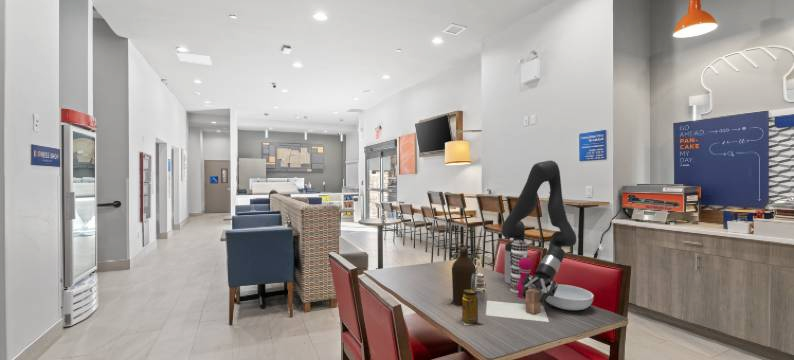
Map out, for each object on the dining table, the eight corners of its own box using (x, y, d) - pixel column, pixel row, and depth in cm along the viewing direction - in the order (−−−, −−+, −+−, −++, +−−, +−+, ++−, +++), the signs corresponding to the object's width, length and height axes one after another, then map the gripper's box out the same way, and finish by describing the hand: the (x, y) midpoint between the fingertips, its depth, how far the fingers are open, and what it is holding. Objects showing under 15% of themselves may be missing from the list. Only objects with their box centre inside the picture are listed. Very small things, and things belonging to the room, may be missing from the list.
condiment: (459, 318, 145) (459, 288, 145) (479, 317, 146) (480, 288, 146) (464, 325, 138) (464, 294, 138) (485, 325, 139) (486, 293, 139)
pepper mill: (515, 298, 170) (515, 255, 169) (517, 293, 176) (518, 252, 176) (531, 300, 166) (532, 257, 166) (533, 296, 173) (534, 254, 172)
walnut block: (525, 311, 152) (525, 290, 151) (532, 309, 154) (532, 288, 154) (533, 315, 148) (533, 293, 148) (540, 312, 151) (541, 291, 151)
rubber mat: (487, 301, 165) (487, 300, 165) (543, 306, 159) (543, 306, 159) (485, 316, 148) (485, 315, 148) (549, 322, 141) (549, 321, 141)
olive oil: (449, 306, 159) (450, 249, 158) (453, 298, 169) (454, 245, 168) (474, 309, 155) (475, 251, 155) (476, 301, 165) (477, 246, 165)
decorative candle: (507, 287, 186) (507, 239, 186) (525, 287, 186) (526, 239, 185) (512, 293, 177) (512, 242, 177) (531, 293, 177) (532, 242, 176)
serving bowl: (551, 315, 149) (552, 298, 149) (534, 298, 170) (534, 283, 170) (603, 316, 149) (603, 299, 149) (579, 299, 170) (579, 284, 170)
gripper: (530, 259, 161) (513, 289, 155) (560, 266, 150) (543, 299, 143) (537, 269, 164) (521, 299, 158) (567, 277, 153) (550, 309, 146)
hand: (531, 299), depth 151 cm, fingers open, 8 cm apart
